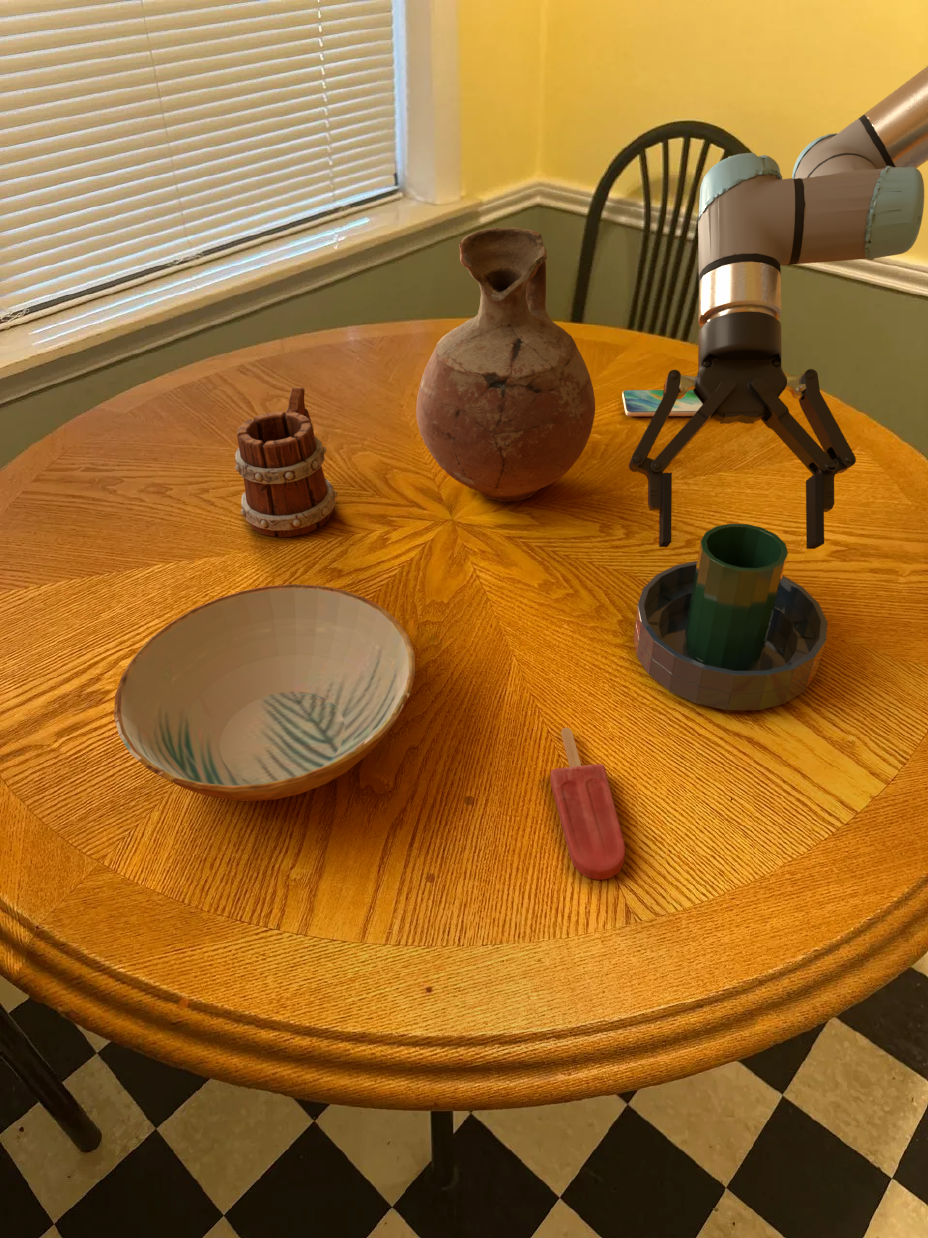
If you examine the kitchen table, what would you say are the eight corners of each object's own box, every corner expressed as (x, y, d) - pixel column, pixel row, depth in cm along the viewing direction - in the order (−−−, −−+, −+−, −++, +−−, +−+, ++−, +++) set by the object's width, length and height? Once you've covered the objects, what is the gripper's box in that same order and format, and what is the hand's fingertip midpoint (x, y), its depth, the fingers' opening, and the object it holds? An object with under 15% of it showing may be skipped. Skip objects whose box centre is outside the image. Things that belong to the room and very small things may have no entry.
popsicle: (590, 719, 76) (634, 865, 64) (589, 732, 77) (632, 878, 66) (540, 724, 76) (575, 872, 64) (539, 737, 77) (574, 885, 65)
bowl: (450, 662, 85) (446, 599, 80) (373, 880, 66) (361, 815, 61) (217, 632, 90) (199, 570, 85) (83, 826, 71) (50, 762, 66)
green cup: (737, 616, 88) (759, 517, 80) (777, 663, 82) (804, 561, 75) (671, 631, 86) (686, 531, 79) (707, 680, 81) (727, 577, 73)
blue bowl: (754, 584, 93) (763, 546, 90) (852, 691, 80) (866, 651, 77) (606, 616, 89) (610, 578, 86) (683, 733, 77) (691, 693, 73)
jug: (399, 516, 106) (375, 264, 87) (448, 434, 122) (437, 206, 102) (574, 538, 101) (589, 275, 82) (601, 450, 117) (620, 213, 97)
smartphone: (732, 411, 122) (626, 412, 123) (731, 417, 123) (625, 417, 123) (724, 388, 127) (621, 389, 128) (723, 394, 128) (621, 394, 129)
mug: (223, 538, 103) (204, 415, 95) (269, 495, 115) (255, 382, 107) (317, 546, 101) (305, 420, 93) (353, 501, 113) (345, 386, 105)
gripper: (860, 340, 84) (863, 553, 82) (603, 342, 87) (601, 550, 85) (891, 305, 77) (896, 539, 75) (609, 308, 79) (607, 536, 77)
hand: (739, 545), depth 80 cm, fingers open, 13 cm apart
